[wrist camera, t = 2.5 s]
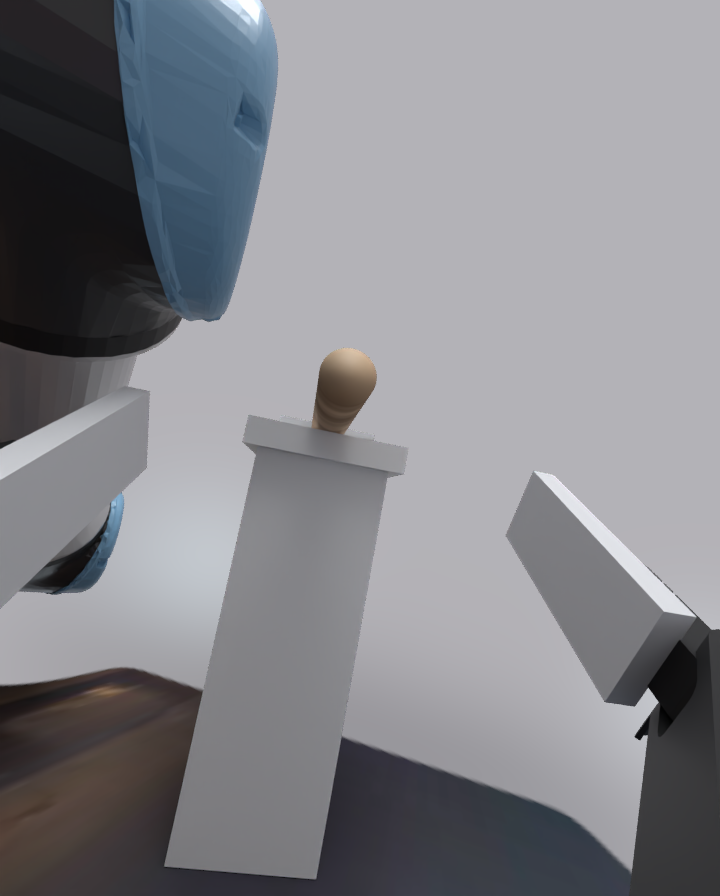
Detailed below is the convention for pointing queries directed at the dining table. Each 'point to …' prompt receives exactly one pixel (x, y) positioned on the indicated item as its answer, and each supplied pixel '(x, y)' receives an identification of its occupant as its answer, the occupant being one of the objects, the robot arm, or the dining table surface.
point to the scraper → (341, 392)
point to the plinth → (283, 654)
